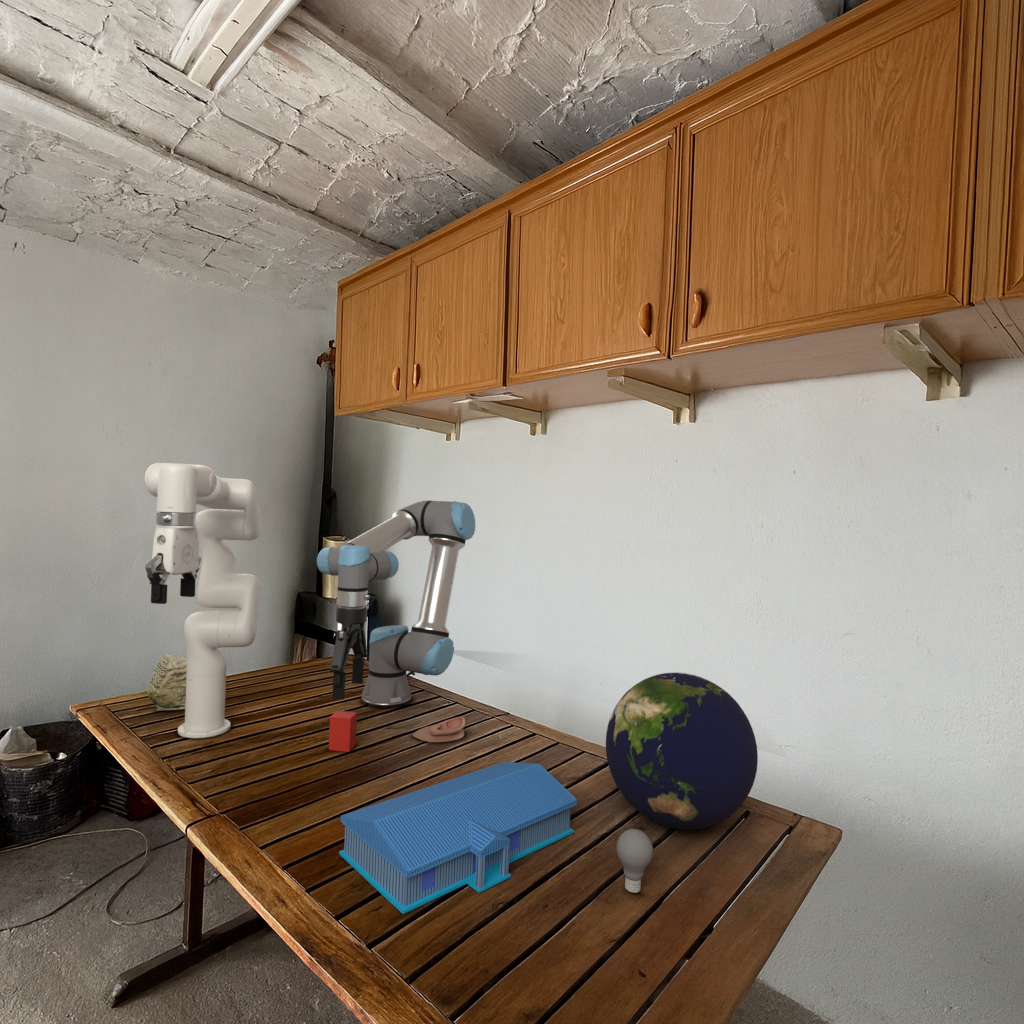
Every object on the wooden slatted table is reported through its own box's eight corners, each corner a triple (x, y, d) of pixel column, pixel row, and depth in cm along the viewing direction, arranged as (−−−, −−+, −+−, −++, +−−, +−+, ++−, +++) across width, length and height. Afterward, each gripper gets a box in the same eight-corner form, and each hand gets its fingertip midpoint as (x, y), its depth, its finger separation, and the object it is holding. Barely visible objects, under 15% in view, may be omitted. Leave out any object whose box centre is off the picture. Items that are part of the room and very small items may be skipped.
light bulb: (610, 879, 108) (613, 822, 108) (644, 879, 109) (647, 822, 109) (619, 902, 102) (622, 840, 102) (655, 901, 103) (658, 840, 103)
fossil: (144, 707, 182) (145, 655, 182) (212, 696, 194) (213, 647, 194) (151, 716, 175) (153, 662, 175) (221, 703, 188) (223, 653, 188)
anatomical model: (408, 724, 167) (423, 710, 178) (408, 739, 167) (423, 724, 178) (457, 730, 164) (469, 716, 175) (456, 745, 164) (468, 730, 175)
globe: (585, 837, 122) (592, 682, 121) (619, 777, 149) (625, 650, 149) (751, 879, 110) (760, 708, 110) (755, 805, 138) (762, 668, 138)
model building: (414, 925, 95) (417, 859, 95) (337, 852, 113) (340, 797, 113) (586, 839, 121) (589, 787, 121) (502, 791, 139) (504, 746, 139)
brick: (328, 750, 158) (329, 716, 158) (335, 743, 163) (336, 710, 163) (349, 752, 158) (350, 718, 157) (355, 744, 162) (357, 712, 162)
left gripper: (166, 522, 127) (163, 607, 128) (215, 520, 145) (212, 595, 145) (132, 521, 128) (129, 605, 129) (184, 518, 145) (182, 593, 146)
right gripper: (349, 616, 147) (345, 707, 147) (381, 600, 172) (377, 678, 172) (317, 614, 148) (313, 704, 148) (354, 598, 173) (351, 676, 173)
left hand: (173, 599), depth 137 cm, fingers open, 9 cm apart
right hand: (348, 690), depth 160 cm, fingers open, 13 cm apart
